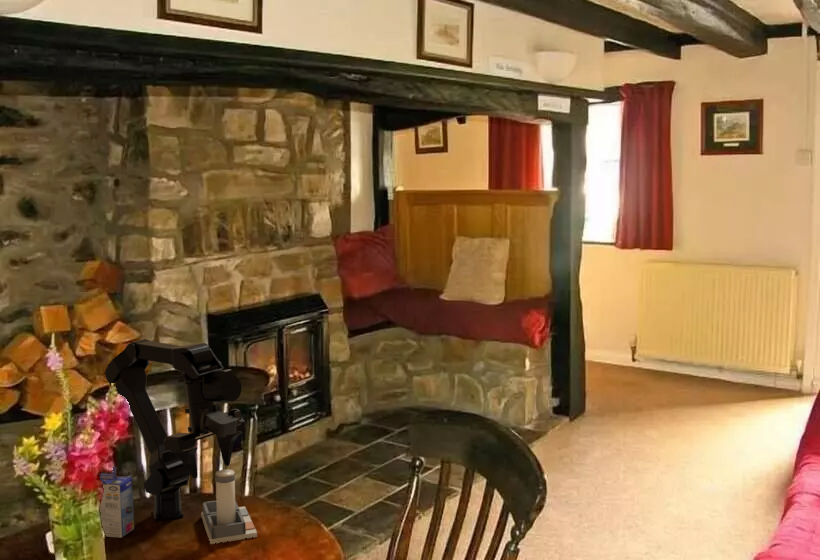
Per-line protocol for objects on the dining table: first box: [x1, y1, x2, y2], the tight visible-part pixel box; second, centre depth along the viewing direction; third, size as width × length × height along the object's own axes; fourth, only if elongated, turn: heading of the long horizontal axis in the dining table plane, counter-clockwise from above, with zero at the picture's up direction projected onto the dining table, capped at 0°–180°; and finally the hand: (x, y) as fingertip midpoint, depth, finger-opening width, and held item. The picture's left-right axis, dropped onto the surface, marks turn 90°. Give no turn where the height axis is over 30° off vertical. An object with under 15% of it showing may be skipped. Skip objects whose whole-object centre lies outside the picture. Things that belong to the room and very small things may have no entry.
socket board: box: [200, 500, 258, 545], centre depth 191 cm, size 15×10×4 cm, turn 20°
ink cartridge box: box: [99, 466, 135, 539], centre depth 188 cm, size 10×6×14 cm, turn 78°
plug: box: [214, 468, 236, 526], centre depth 186 cm, size 4×4×13 cm
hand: (211, 471), depth 188 cm, fingers open, 9 cm apart
